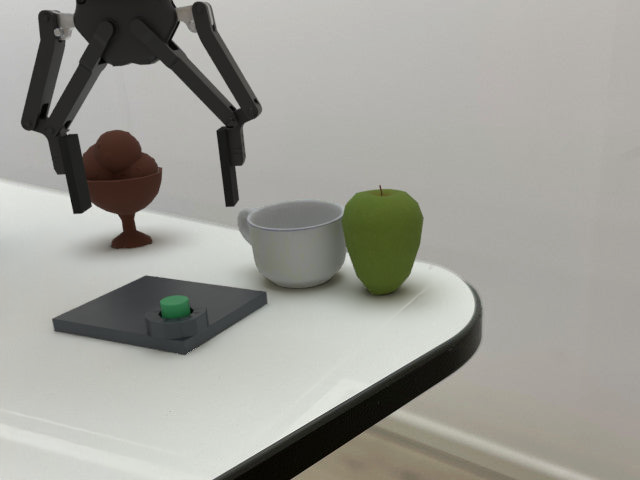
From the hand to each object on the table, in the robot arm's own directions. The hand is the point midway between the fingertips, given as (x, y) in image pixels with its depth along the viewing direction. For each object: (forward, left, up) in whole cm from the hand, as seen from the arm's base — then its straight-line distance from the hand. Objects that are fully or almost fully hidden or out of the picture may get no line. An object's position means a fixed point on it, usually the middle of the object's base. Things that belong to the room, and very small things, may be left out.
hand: (157, 207), depth 69 cm
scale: (-4, +3, -12) cm, 13 cm away
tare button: (+2, -2, -10) cm, 10 cm away
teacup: (+2, +18, -13) cm, 22 cm away
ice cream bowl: (-26, +23, -13) cm, 37 cm away
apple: (+14, +17, -13) cm, 26 cm away
